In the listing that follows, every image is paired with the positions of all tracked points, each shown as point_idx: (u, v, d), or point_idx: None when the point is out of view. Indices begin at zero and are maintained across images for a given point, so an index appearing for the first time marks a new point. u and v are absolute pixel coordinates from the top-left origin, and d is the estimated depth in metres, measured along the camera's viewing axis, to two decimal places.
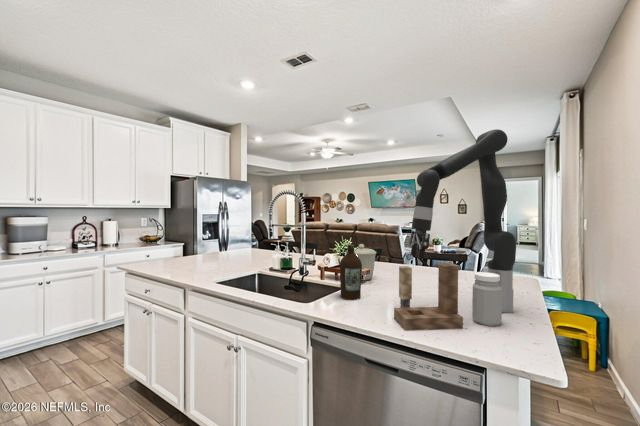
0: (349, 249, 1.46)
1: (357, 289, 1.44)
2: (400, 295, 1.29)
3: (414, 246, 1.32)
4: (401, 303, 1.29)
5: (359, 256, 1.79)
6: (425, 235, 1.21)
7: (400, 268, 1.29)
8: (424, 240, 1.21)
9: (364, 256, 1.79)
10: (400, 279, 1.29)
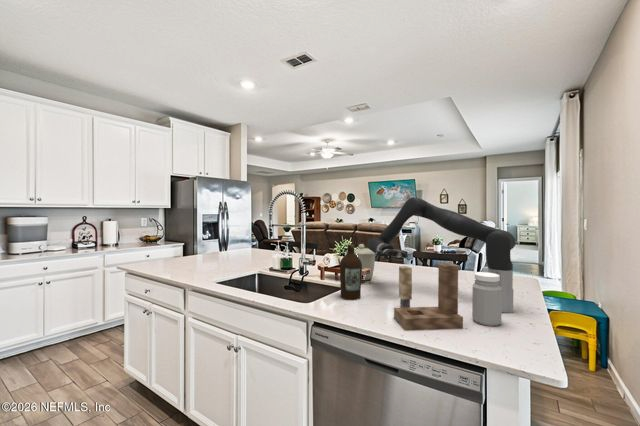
0: (349, 249, 1.46)
1: (357, 289, 1.44)
2: (400, 295, 1.29)
3: (401, 254, 1.44)
4: (401, 303, 1.29)
5: (359, 256, 1.79)
6: (376, 254, 1.49)
7: (400, 268, 1.29)
8: (376, 255, 1.47)
9: (364, 256, 1.79)
10: (400, 279, 1.29)
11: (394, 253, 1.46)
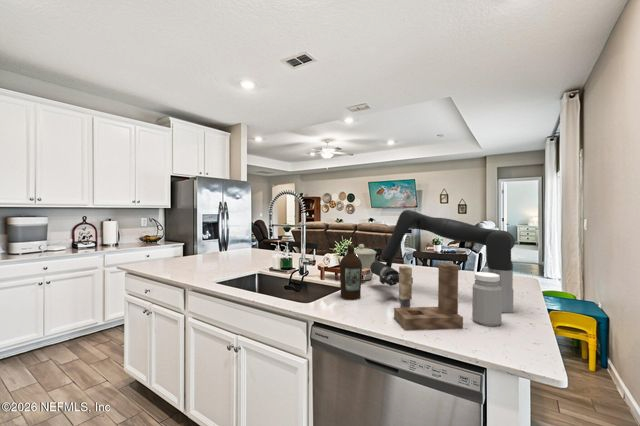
0: (349, 249, 1.46)
1: (357, 289, 1.44)
2: (400, 295, 1.29)
3: None
4: (401, 303, 1.29)
5: (359, 256, 1.79)
6: None
7: (400, 268, 1.29)
8: (380, 281, 1.41)
9: (364, 256, 1.79)
10: (400, 279, 1.29)
11: None
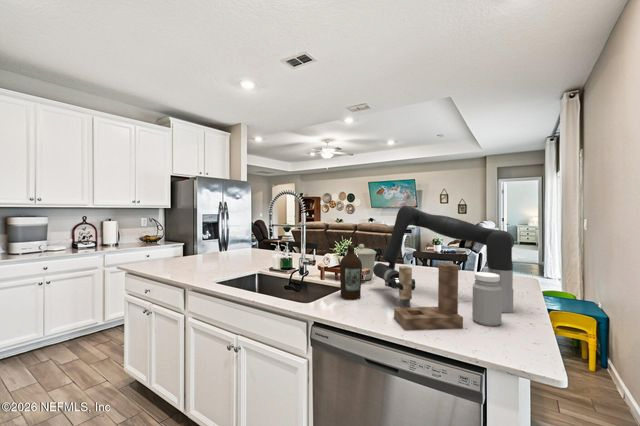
0: (349, 249, 1.46)
1: (357, 289, 1.44)
2: (400, 295, 1.29)
3: None
4: (401, 303, 1.29)
5: (359, 256, 1.79)
6: (385, 284, 1.35)
7: (400, 268, 1.29)
8: (388, 285, 1.33)
9: (364, 256, 1.79)
10: (400, 279, 1.29)
11: None
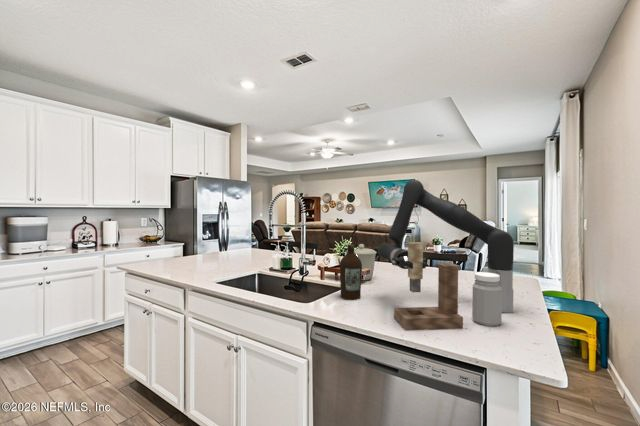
0: (349, 249, 1.46)
1: (357, 289, 1.44)
2: (409, 274, 1.14)
3: None
4: (410, 284, 1.14)
5: (359, 256, 1.79)
6: (392, 263, 1.20)
7: (409, 244, 1.14)
8: (395, 264, 1.18)
9: (364, 256, 1.79)
10: (409, 256, 1.14)
11: None
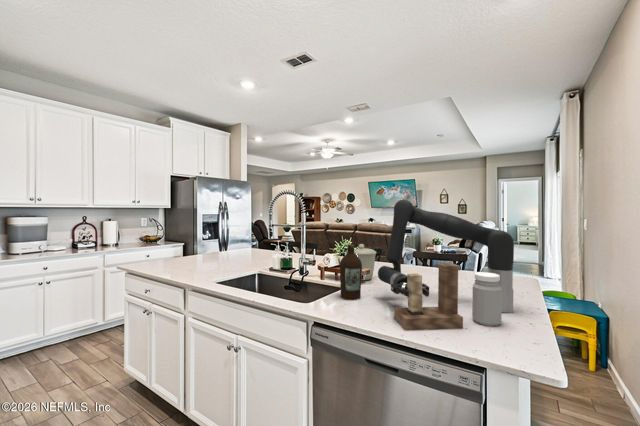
0: (349, 249, 1.46)
1: (357, 289, 1.44)
2: (409, 307, 1.14)
3: (422, 291, 1.16)
4: None
5: (359, 256, 1.79)
6: (391, 289, 1.20)
7: (408, 276, 1.14)
8: (393, 290, 1.18)
9: (364, 256, 1.79)
10: (409, 288, 1.14)
11: None
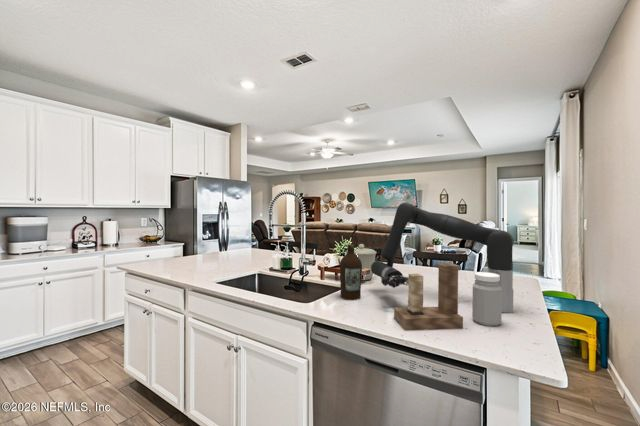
0: (349, 249, 1.46)
1: (357, 289, 1.44)
2: (410, 306, 1.14)
3: None
4: None
5: (359, 256, 1.79)
6: (381, 281, 1.34)
7: (410, 276, 1.14)
8: (382, 282, 1.32)
9: (364, 256, 1.79)
10: (410, 288, 1.14)
11: (402, 281, 1.31)
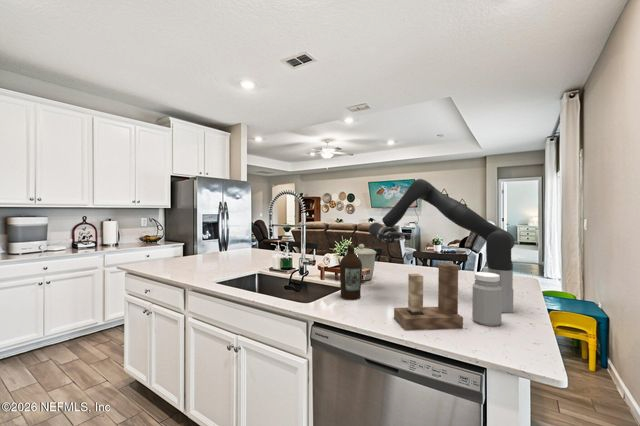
0: (349, 249, 1.46)
1: (357, 289, 1.44)
2: (410, 306, 1.14)
3: (405, 237, 1.37)
4: None
5: (359, 256, 1.79)
6: (377, 236, 1.41)
7: (410, 276, 1.14)
8: (378, 237, 1.39)
9: (364, 256, 1.79)
10: (410, 288, 1.14)
11: (397, 235, 1.39)
